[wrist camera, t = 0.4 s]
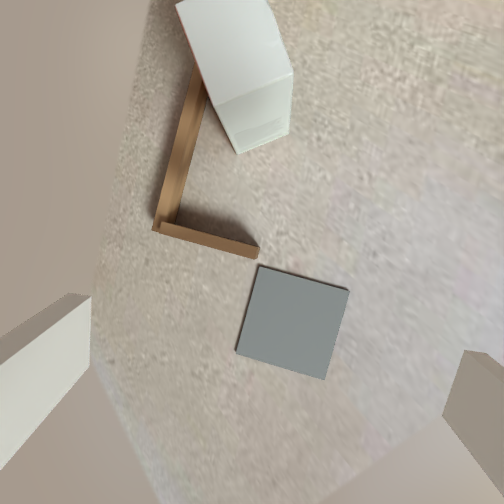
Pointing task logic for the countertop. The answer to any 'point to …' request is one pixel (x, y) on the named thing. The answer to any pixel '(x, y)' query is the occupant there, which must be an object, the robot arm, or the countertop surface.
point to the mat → (292, 322)
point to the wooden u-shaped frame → (178, 175)
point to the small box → (241, 67)
